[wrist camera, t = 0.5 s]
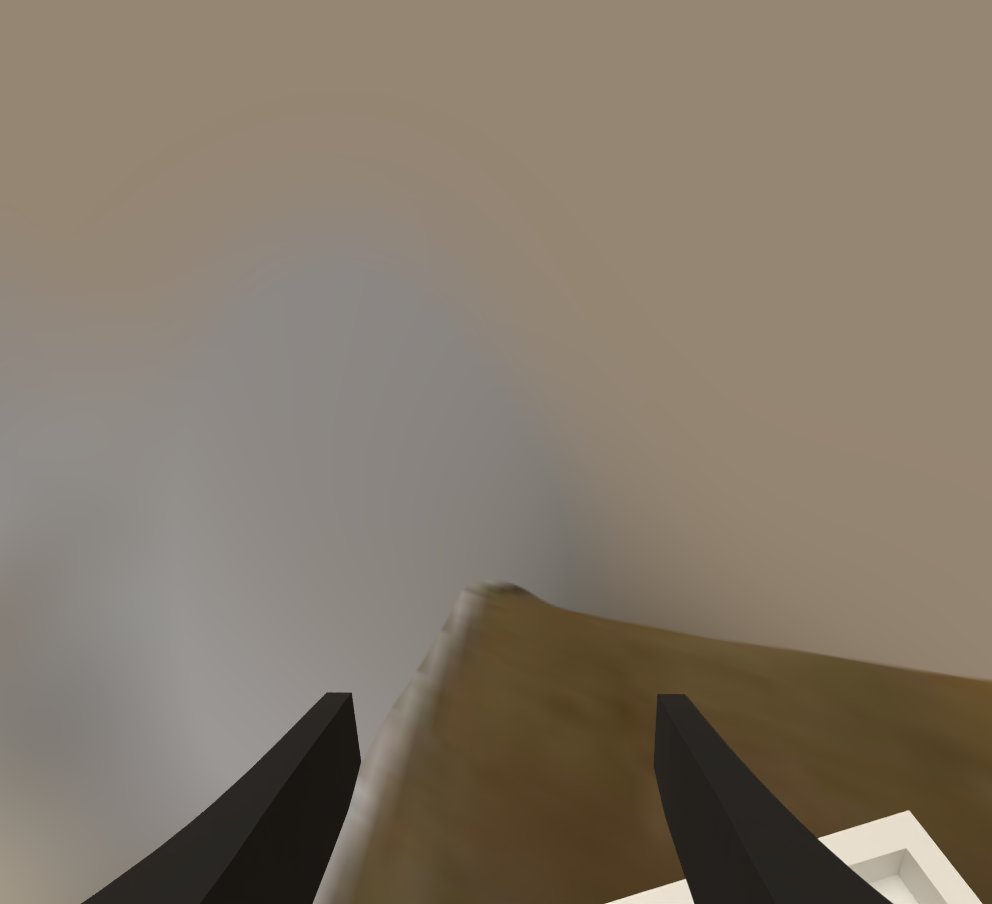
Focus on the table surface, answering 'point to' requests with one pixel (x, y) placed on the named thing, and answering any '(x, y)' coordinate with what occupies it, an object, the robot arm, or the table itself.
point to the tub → (872, 866)
